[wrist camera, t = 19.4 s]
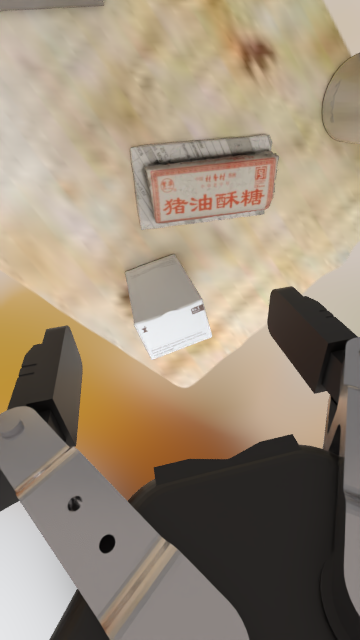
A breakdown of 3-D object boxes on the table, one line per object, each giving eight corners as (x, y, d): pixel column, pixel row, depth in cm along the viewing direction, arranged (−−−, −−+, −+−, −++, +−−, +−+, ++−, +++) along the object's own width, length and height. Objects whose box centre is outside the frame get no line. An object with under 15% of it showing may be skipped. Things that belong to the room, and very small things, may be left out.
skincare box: (137, 301, 48) (148, 364, 36) (123, 268, 44) (130, 326, 32) (187, 284, 48) (214, 340, 36) (176, 250, 44) (203, 300, 32)
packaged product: (287, 135, 35) (276, 221, 40) (268, 132, 39) (261, 212, 44) (131, 149, 32) (143, 239, 38) (128, 145, 36) (139, 227, 42)
